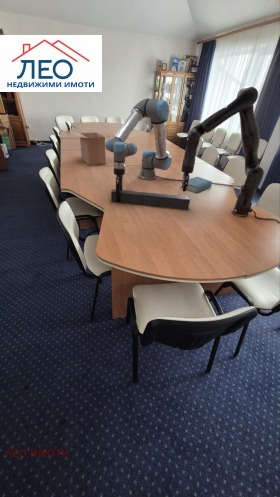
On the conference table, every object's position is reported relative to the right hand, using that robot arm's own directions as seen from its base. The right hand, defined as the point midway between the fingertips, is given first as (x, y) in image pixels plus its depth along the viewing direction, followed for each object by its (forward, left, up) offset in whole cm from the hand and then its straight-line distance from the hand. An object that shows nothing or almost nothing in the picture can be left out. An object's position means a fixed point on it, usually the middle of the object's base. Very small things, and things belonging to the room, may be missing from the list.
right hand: (183, 188), depth 150 cm
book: (-15, -44, -14) cm, 48 cm away
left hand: (+44, 0, -13) cm, 46 cm away
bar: (+22, 0, -14) cm, 26 cm away
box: (+90, -92, -14) cm, 130 cm away
